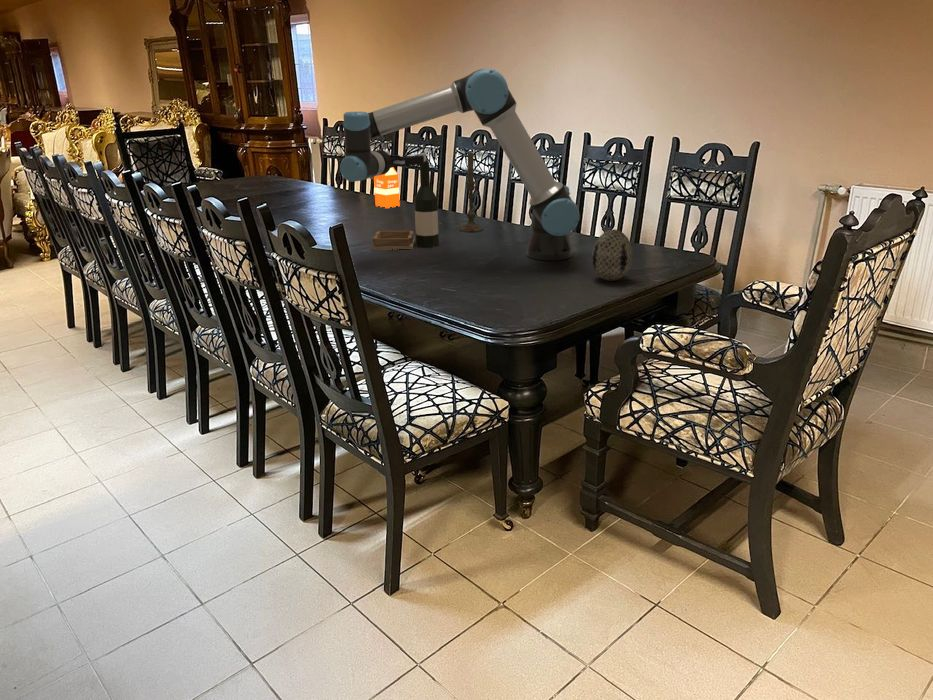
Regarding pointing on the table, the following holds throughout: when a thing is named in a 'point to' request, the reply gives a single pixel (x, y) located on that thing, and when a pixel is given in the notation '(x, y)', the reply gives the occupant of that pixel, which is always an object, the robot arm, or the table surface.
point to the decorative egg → (612, 255)
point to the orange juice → (387, 189)
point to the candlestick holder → (471, 199)
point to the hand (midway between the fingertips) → (406, 156)
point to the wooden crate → (393, 240)
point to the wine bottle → (426, 211)
